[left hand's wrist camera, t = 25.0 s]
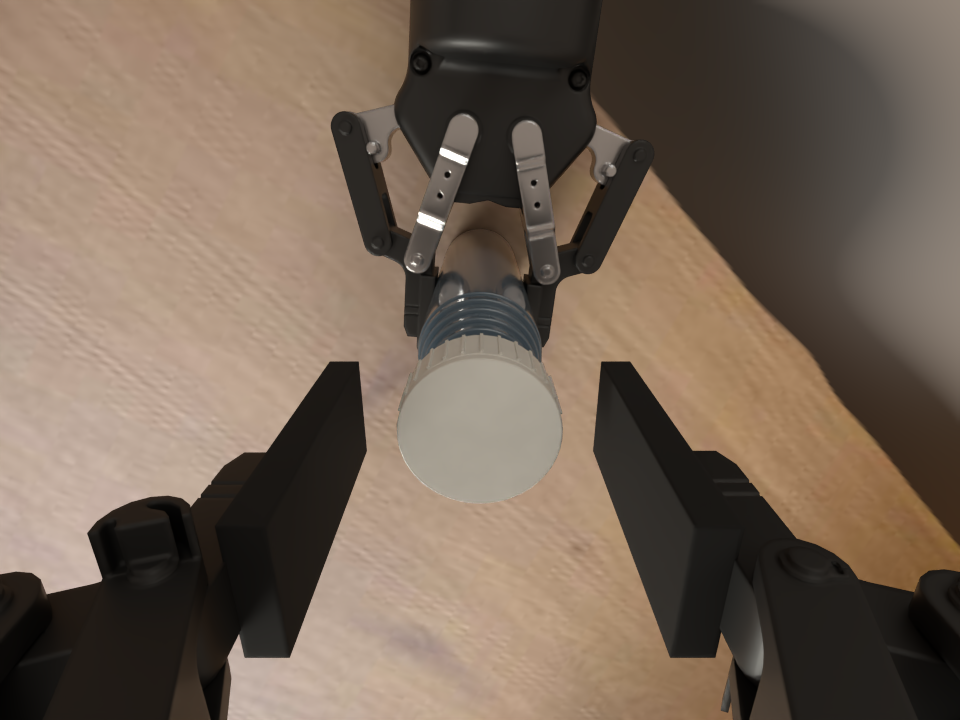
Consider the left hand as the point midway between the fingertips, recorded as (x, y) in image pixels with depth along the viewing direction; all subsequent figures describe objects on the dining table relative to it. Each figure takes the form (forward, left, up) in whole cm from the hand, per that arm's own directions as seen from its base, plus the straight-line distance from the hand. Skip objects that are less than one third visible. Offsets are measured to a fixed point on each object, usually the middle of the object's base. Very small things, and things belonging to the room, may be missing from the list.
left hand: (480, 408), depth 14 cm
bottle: (0, 0, -19) cm, 19 cm away
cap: (0, 0, +1) cm, 1 cm away
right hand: (-2, +2, -12) cm, 12 cm away
